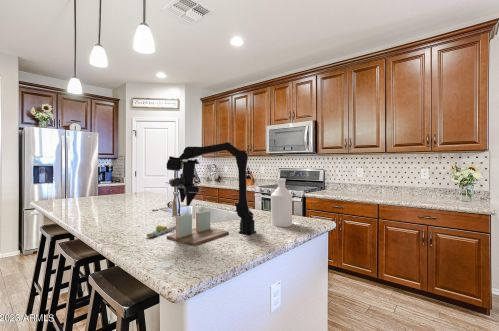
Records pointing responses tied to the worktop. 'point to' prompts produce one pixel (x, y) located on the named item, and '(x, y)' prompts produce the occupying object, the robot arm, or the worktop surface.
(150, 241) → the worktop surface
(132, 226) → the worktop surface
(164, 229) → the flamethrower
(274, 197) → the bottle
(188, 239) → the board
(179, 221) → the tile
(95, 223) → the worktop surface
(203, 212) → the tile
